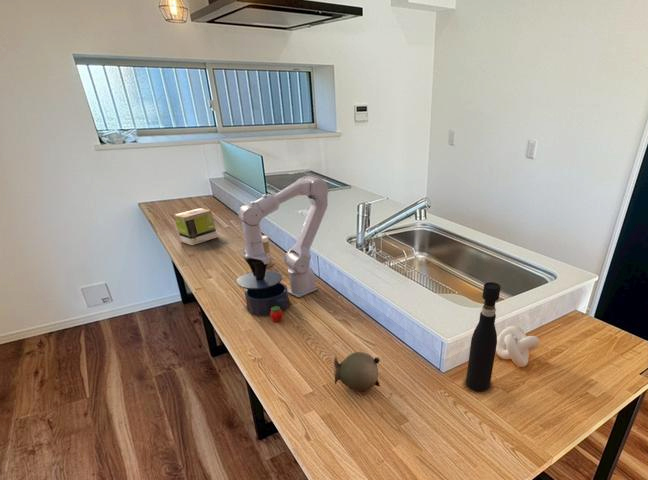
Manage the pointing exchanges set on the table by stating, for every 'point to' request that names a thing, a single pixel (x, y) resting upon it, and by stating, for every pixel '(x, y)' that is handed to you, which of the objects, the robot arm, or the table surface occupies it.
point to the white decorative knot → (516, 345)
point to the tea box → (195, 226)
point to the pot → (267, 299)
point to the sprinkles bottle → (266, 248)
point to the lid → (259, 280)
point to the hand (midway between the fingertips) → (259, 277)
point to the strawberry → (276, 314)
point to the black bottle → (483, 342)
